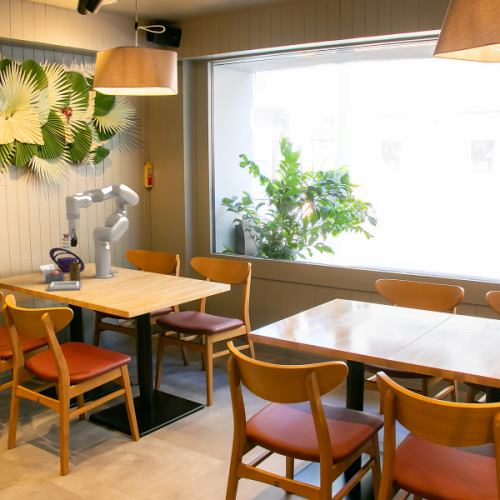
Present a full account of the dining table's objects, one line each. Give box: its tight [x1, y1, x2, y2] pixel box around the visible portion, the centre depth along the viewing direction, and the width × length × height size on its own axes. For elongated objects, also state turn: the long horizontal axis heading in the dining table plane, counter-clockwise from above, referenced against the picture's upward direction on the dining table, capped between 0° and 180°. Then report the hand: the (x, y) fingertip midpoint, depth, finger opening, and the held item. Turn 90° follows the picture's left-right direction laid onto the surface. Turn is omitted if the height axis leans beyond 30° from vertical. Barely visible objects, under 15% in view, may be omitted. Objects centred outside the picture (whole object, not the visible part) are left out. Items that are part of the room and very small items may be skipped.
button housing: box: [44, 271, 65, 285], centre depth 371 cm, size 10×10×5 cm
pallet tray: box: [46, 280, 83, 292], centre depth 355 cm, size 18×16×2 cm
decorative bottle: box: [48, 233, 85, 273], centre depth 407 cm, size 22×21×25 cm
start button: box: [49, 270, 60, 275], centre depth 371 cm, size 5×5×3 cm
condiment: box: [69, 261, 84, 284], centre depth 372 cm, size 7×8×12 cm
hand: (74, 245), depth 369 cm, fingers open, 9 cm apart
